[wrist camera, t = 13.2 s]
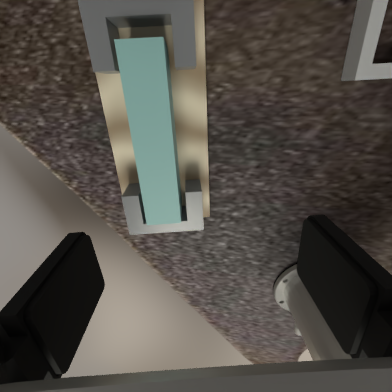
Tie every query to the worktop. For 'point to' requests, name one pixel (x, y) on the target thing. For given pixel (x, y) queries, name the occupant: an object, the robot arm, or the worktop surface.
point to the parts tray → (365, 43)
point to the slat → (152, 125)
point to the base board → (183, 111)
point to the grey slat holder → (108, 64)
